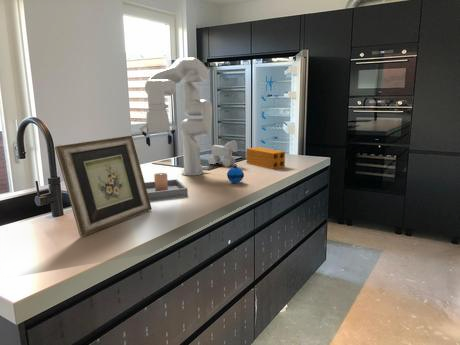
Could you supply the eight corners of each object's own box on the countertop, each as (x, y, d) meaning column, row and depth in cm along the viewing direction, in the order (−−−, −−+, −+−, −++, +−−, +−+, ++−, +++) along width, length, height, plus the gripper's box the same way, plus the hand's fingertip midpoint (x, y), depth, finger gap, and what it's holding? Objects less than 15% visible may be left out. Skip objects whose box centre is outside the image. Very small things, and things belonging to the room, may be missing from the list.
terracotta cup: (166, 188, 179) (165, 172, 178) (169, 191, 174) (168, 174, 172) (154, 190, 177) (153, 173, 175) (156, 193, 172) (155, 176, 170)
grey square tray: (177, 185, 188) (177, 179, 188) (187, 195, 170) (187, 188, 169) (137, 190, 181) (136, 183, 180) (143, 201, 163) (143, 193, 162)
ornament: (224, 184, 190) (224, 165, 188) (230, 180, 198) (230, 162, 195) (240, 185, 187) (240, 166, 185) (245, 181, 195) (245, 162, 193)
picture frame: (82, 237, 123) (72, 147, 116) (64, 232, 128) (53, 145, 121) (152, 210, 150) (147, 136, 143) (134, 207, 155) (129, 135, 148)
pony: (241, 165, 238) (240, 139, 234) (232, 168, 229) (232, 141, 226) (215, 162, 248) (214, 137, 245) (206, 165, 240) (205, 139, 236)
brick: (284, 167, 230) (285, 151, 227) (272, 169, 224) (272, 153, 222) (258, 161, 250) (258, 147, 248) (246, 163, 244) (246, 148, 242)
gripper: (173, 106, 176) (175, 142, 180) (136, 108, 170) (139, 145, 174) (177, 107, 169) (179, 144, 173) (139, 109, 163) (141, 147, 167)
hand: (159, 144), depth 174 cm, fingers open, 9 cm apart
